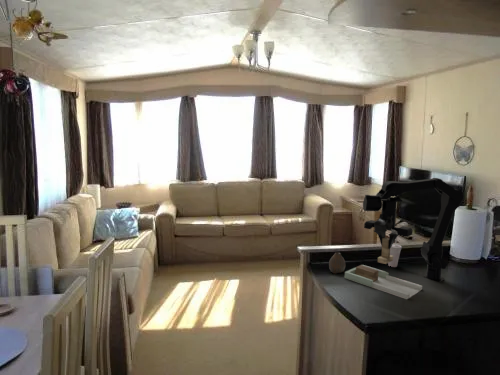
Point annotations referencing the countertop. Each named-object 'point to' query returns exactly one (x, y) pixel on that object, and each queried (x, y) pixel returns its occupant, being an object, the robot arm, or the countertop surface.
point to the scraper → (385, 252)
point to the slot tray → (386, 283)
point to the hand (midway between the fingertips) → (386, 247)
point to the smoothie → (395, 254)
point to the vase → (337, 263)
